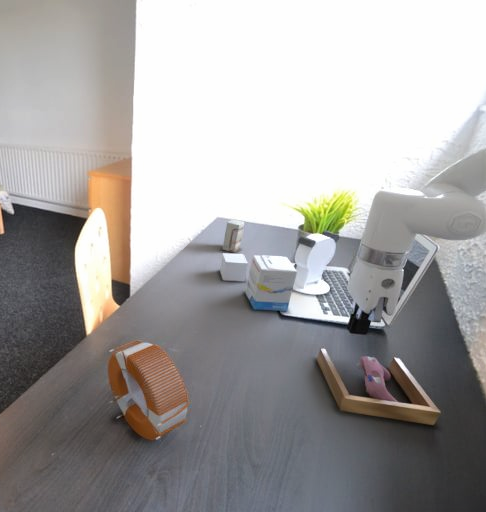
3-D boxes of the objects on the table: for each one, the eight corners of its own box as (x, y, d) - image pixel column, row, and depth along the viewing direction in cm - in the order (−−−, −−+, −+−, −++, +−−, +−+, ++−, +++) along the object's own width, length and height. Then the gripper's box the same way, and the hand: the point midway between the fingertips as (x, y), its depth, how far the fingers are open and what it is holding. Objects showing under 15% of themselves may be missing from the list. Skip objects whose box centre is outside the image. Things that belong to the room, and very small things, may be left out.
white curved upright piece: (303, 271, 111) (315, 225, 105) (340, 288, 102) (356, 238, 96) (274, 280, 107) (285, 232, 100) (310, 298, 98) (325, 247, 91)
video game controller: (362, 378, 74) (352, 349, 72) (390, 377, 71) (381, 347, 70) (370, 415, 66) (360, 383, 64) (403, 415, 63) (392, 382, 62)
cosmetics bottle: (234, 253, 124) (239, 225, 119) (221, 249, 127) (226, 222, 122) (240, 248, 127) (245, 221, 123) (228, 245, 130) (232, 218, 126)
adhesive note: (244, 281, 107) (248, 263, 104) (222, 280, 108) (225, 262, 105) (240, 271, 112) (243, 254, 109) (219, 270, 113) (222, 253, 110)
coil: (132, 386, 71) (135, 323, 65) (187, 446, 60) (197, 376, 53) (102, 400, 68) (102, 336, 62) (154, 466, 57) (160, 395, 50)
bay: (394, 369, 74) (399, 358, 72) (434, 425, 62) (441, 412, 61) (316, 359, 77) (320, 348, 76) (340, 410, 65) (345, 398, 64)
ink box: (288, 311, 92) (298, 270, 87) (252, 309, 94) (261, 269, 89) (277, 294, 100) (286, 255, 95) (244, 292, 101) (252, 254, 96)
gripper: (428, 273, 63) (394, 357, 71) (385, 239, 76) (361, 313, 84) (377, 270, 65) (350, 352, 72) (344, 238, 78) (324, 310, 85)
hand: (356, 331), depth 78 cm, fingers closed
